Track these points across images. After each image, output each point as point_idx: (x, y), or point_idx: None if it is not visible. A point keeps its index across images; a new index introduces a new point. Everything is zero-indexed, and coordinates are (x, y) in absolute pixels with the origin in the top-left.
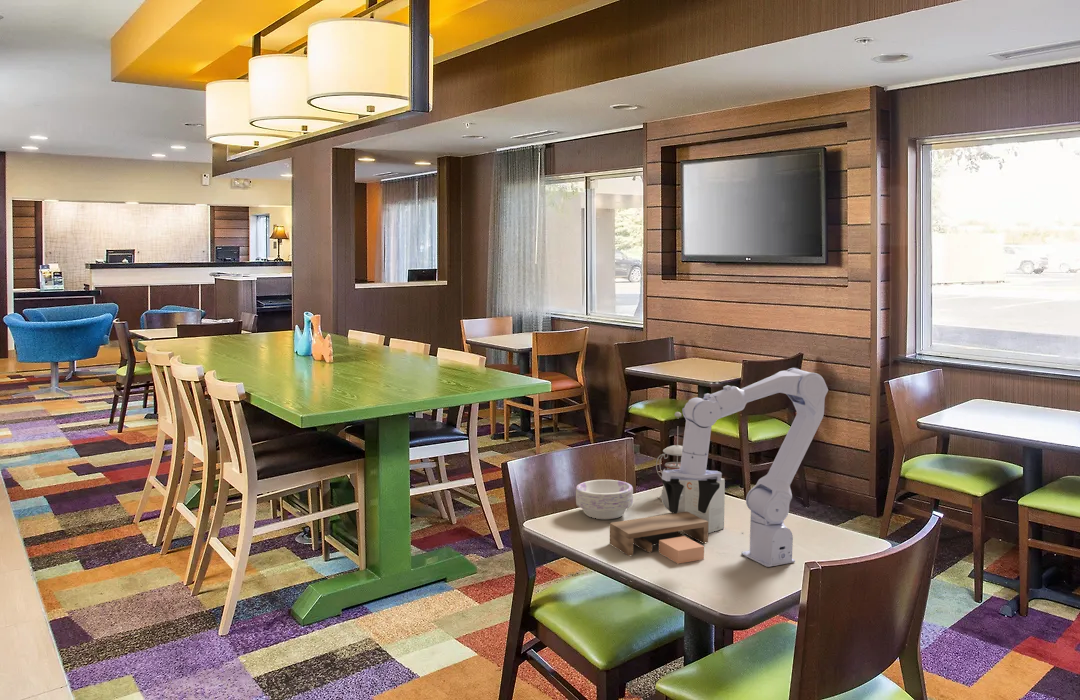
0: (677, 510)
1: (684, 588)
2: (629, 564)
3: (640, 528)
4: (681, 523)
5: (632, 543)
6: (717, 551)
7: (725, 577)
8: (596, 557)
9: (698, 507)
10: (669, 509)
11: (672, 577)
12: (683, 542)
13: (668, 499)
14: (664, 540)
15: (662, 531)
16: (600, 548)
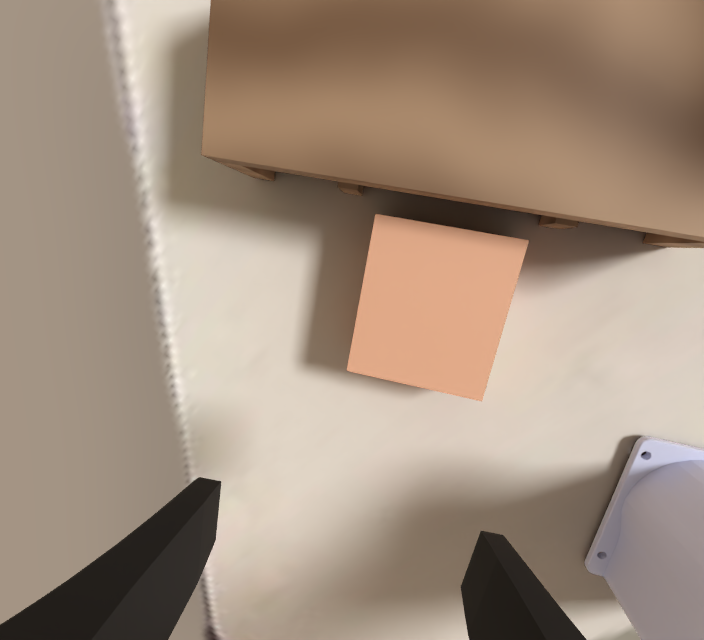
0: (200, 571)
1: (233, 495)
2: (206, 253)
3: (310, 110)
4: (593, 176)
5: (248, 170)
6: (594, 352)
7: (394, 521)
8: (140, 117)
9: (490, 554)
10: (187, 488)
11: (257, 423)
12: (446, 310)
13: (109, 556)
14: (392, 235)
15: (414, 192)
16: (206, 24)
